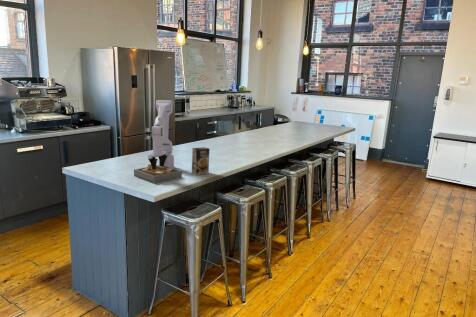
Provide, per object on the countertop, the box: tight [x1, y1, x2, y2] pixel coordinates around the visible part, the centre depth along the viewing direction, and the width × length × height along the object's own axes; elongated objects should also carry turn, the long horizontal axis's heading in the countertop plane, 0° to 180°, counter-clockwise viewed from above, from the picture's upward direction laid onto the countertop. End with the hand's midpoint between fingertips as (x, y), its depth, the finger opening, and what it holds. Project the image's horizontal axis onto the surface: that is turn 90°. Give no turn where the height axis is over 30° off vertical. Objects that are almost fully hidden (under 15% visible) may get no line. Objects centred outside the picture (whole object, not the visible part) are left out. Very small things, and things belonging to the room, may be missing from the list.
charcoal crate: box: [133, 164, 183, 184], centre depth 216 cm, size 20×20×4 cm
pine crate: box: [141, 163, 173, 176], centre depth 216 cm, size 13×13×6 cm
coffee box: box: [191, 146, 210, 176], centre depth 227 cm, size 9×6×16 cm
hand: (157, 168), depth 216 cm, fingers open, 6 cm apart
